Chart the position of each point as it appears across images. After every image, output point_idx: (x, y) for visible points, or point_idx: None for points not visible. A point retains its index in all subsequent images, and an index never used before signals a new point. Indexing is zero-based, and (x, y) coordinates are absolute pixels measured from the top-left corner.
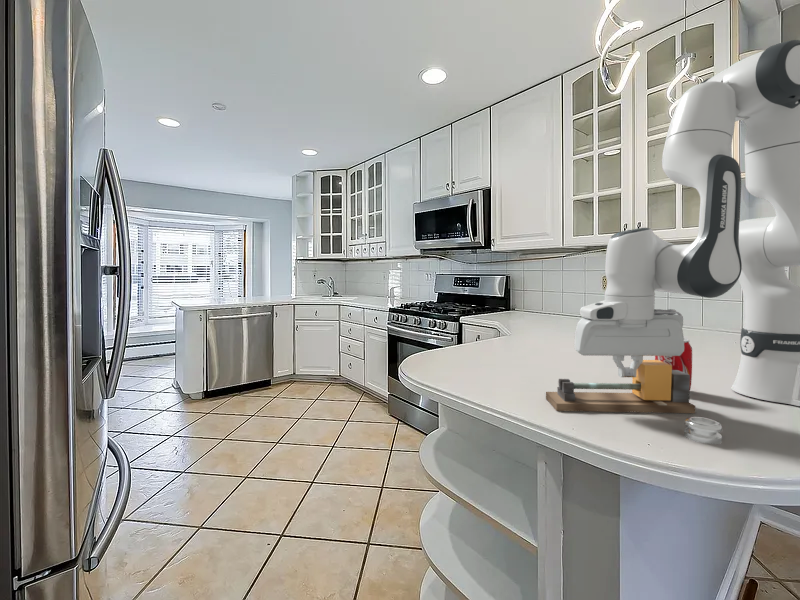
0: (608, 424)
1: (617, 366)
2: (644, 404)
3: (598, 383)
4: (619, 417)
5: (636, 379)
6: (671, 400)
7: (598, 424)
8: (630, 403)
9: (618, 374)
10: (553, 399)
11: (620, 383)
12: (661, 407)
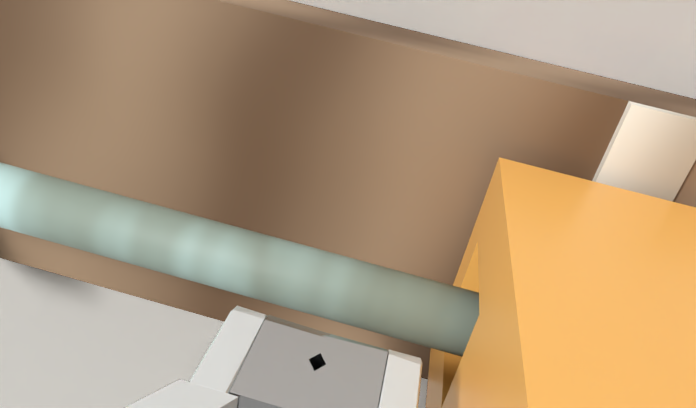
0: (90, 399)
1: (165, 396)
2: None
3: (41, 230)
4: (192, 348)
5: (476, 332)
6: None
7: (43, 386)
8: (309, 324)
9: (234, 314)
10: None
11: (267, 290)
12: None
